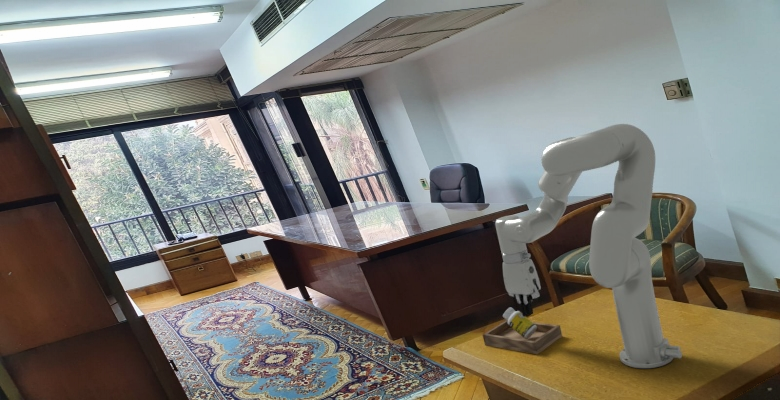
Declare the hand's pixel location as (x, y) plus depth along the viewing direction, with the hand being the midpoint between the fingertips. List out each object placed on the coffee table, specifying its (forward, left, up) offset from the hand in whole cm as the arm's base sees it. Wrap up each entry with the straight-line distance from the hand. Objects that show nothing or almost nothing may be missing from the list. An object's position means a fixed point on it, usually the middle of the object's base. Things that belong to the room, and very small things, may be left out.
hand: (528, 314), depth 160 cm
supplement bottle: (0, 0, -6) cm, 6 cm away
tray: (+4, 0, -9) cm, 10 cm away
